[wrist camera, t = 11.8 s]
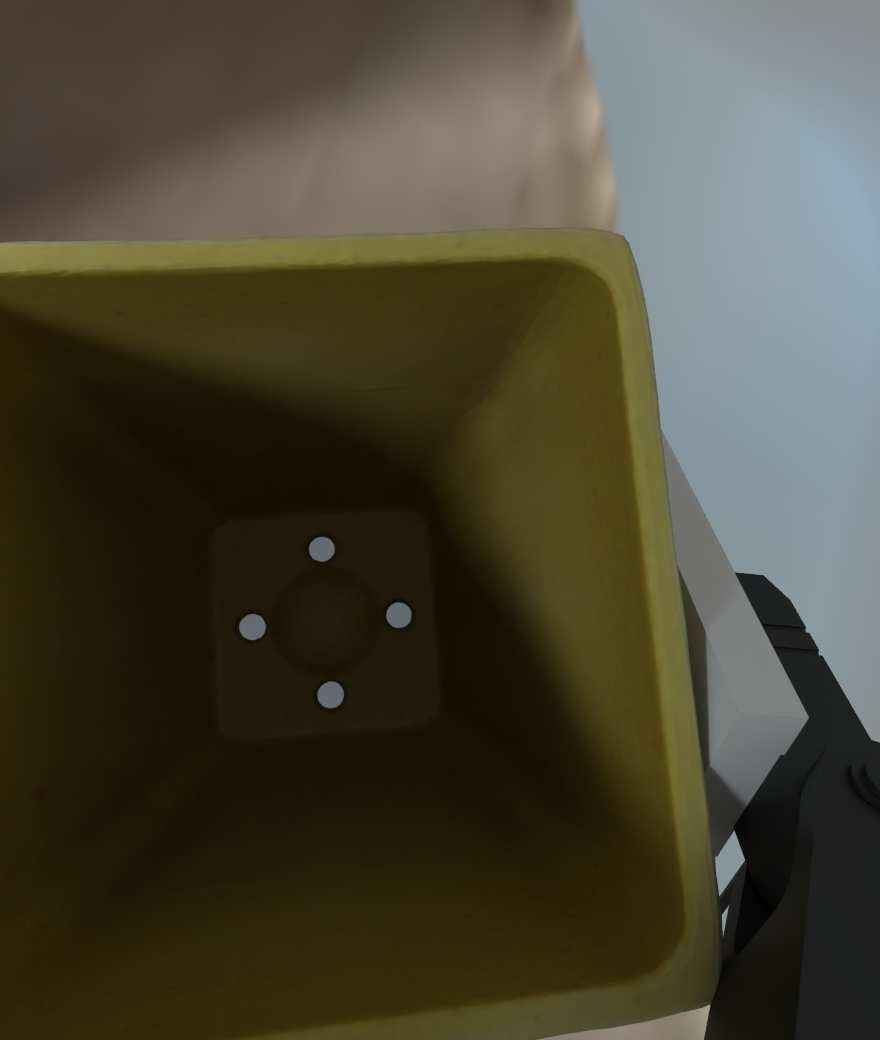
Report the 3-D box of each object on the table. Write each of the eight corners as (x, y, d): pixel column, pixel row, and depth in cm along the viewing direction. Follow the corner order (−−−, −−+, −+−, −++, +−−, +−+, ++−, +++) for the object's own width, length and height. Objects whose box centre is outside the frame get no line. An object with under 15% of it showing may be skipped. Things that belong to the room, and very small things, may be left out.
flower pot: (539, 809, 16) (744, 1023, 7) (132, 856, 15) (-186, 1163, 7) (502, 427, 18) (640, 220, 9) (122, 447, 17) (-155, 239, 8)
